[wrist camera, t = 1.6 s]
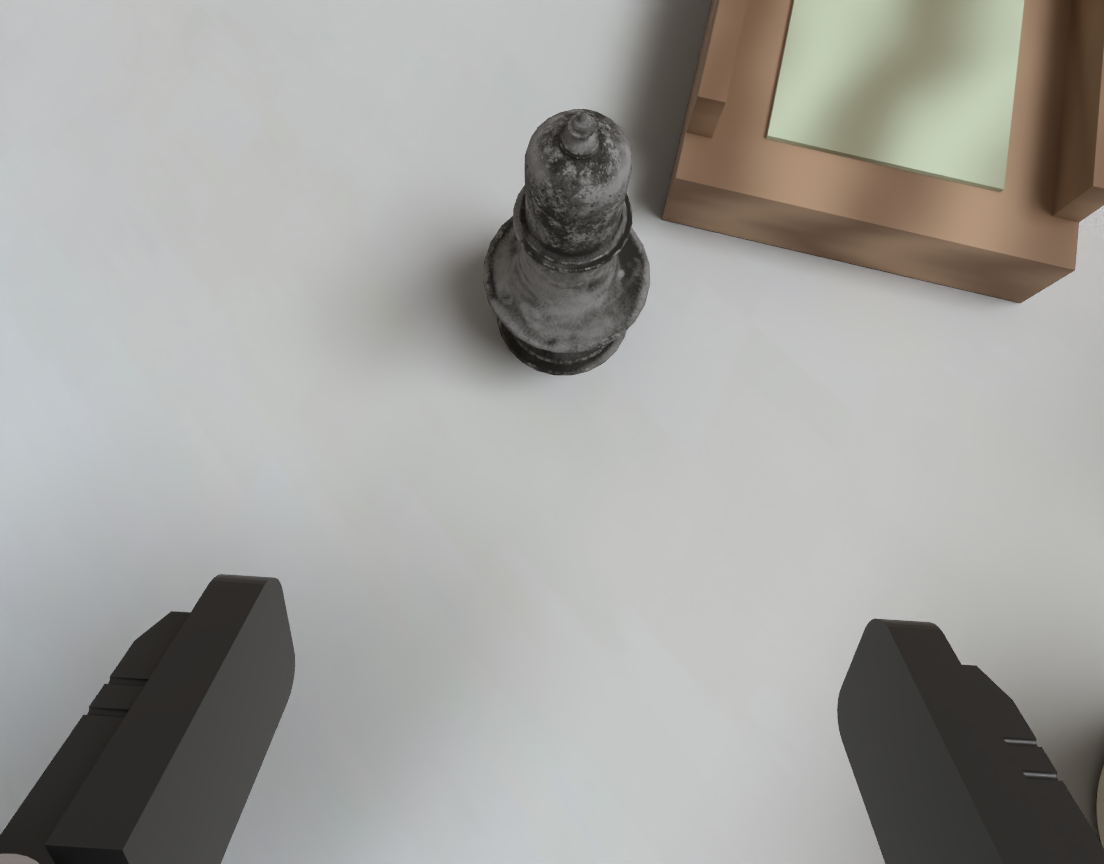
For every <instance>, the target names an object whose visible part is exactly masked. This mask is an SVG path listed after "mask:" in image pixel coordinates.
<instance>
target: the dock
mask: <svg viewBox="0 0 1104 864" xmlns="http://www.w3.org/2000/svg"><path fill="white" fill-rule="evenodd" d="M1103 205H1104V0H712V3H711V8H710V12H709V16H708V21H707V25H706V29H705V34H704V38H703V42H702V47H701V51H700V55H699V60H698V64H697V68H696V73H695V77H694V81H693V86H692V90H691V94H690V99H689V103H688V107H687V112H686V116H685V120H684V125H683V129H682V133H681V138H680V142H679V146H678V151H677V155H676V159H675V164H674V168H673V172H672V177H671V181H670V185H669V190H668V194H667V198H666V203H665V207H664V211H663V216H662V220H666V221H671V222H675V223H679V224H684V225H688V226H692V227H696V228H701V229H705V230H709V231H714V232H718V233H722V234H727V235H731V236H735V237H739V238H744V239H748V240H752V241H757V242H761V243H765V244H769V245H774V246H778V247H782V248H787V249H791V250H795V251H800V252H804V253H808V254H812V255H817V256H821V257H825V258H830V259H834V260H838V261H842V262H847V263H851V264H855V265H860V266H864V267H868V268H873V269H877V270H881V271H885V272H890V273H894V274H898V275H903V276H907V277H911V278H915V279H920V280H924V281H928V282H933V283H937V284H941V285H946V286H950V287H954V288H958V289H963V290H967V291H971V292H976V293H980V294H984V295H988V296H993V297H997V298H1001V299H1006V300H1010V301H1014V302H1019V303H1022V302H1023V301H1025V300H1026V299H1028V298H1030V297H1031V296H1033V295H1035V294H1036V293H1038V292H1040V291H1041V290H1043V289H1045V288H1046V287H1048V286H1050V285H1051V284H1053V283H1055V282H1056V281H1058V280H1059V279H1061V278H1063V277H1064V276H1066V275H1068V274H1069V273H1071V272H1073V271H1074V270H1075V264H1076V252H1077V239H1078V227H1079V222H1080V221H1081V220H1083V219H1084V218H1086V217H1087V216H1089V215H1090V214H1091V213H1093V212H1094V211H1096V210H1097V209H1099V208H1100V207H1102V206H1103Z"/></svg>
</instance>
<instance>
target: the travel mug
mask: <svg viewBox="0 0 1104 864" xmlns="http://www.w3.org/2000/svg"><path fill="white" fill-rule="evenodd" d="M1097 822H1098V830H1099V835H1100V840H1101V844H1102V846H1103V848H1104V766H1103V768H1102V772H1101V776H1100V779H1099V785H1098V791H1097Z"/></svg>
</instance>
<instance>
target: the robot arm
mask: <svg viewBox="0 0 1104 864" xmlns="http://www.w3.org/2000/svg"><path fill="white" fill-rule="evenodd" d="M294 671H295V654H294V648H293V643H292V637H291V632H290V627H289V622H288V617H287V611H286V606H285V601H284V596H283V590H282V586H281V584H280V582H279V580H278V579H277V578H270V577H255V576H239V575H224V574H220V575H217V576H216V577H214V579H213V580H212V581H211V582H210V583H209V585H208V586H207V588H206V589H205V591H204V592H203V594H202V596H201V597H200V599H199V600H198V602H197V604H196V605H195V607H194V608H193V610H192V612H191V613H188V612H172V611H171V612H170V613H169V614H168V615H166V616H165V617H164V618H163V619H161V620H160V621H159V622H158V623H156V624H155V625H154V626H153V627H151V628H150V629H149V630H148V631H146V632H145V633H144V634H143V635H141V636H140V637H139V638H138V639H136V640H135V641H134V642H133V644H132V645H131V647H130V648H129V650H128V651H127V653H126V654H125V656H124V657H123V658H122V660H121V661H120V663H119V664H118V666H117V667H116V669H115V670H114V671H113V673H112V674H111V676H110V681H109V683H108V684H104V686H103V687H102V689H101V690H100V692H99V693H98V695H97V696H96V698H95V699H94V700H93V702H92V703H91V705H90V706H89V712H88V714H87V715H83V716H82V718H81V719H80V721H79V722H78V724H77V725H76V726H75V728H74V729H73V731H72V732H71V734H70V735H69V737H68V738H67V740H66V741H65V742H64V744H63V745H62V747H61V748H60V750H59V751H58V753H57V754H56V755H55V757H54V758H53V760H52V761H51V763H50V764H49V766H48V767H47V768H46V770H45V771H44V773H43V774H42V776H41V777H40V779H39V780H38V782H37V783H36V784H35V786H34V787H33V789H32V790H31V792H30V793H29V795H28V796H27V797H26V799H25V800H24V802H23V803H22V805H21V806H20V808H19V809H18V810H17V812H16V813H15V815H14V816H13V818H12V819H11V821H10V822H9V824H8V825H7V826H6V828H5V829H4V831H3V832H2V834H1V835H0V864H221V861H222V859H223V856H224V854H225V851H226V849H227V847H228V844H229V842H230V839H231V837H232V835H233V832H234V830H235V827H236V825H237V822H238V820H239V818H240V815H241V813H242V810H243V808H244V806H245V803H246V801H247V798H248V796H249V794H250V791H251V789H252V786H253V784H254V781H255V779H256V777H257V774H258V772H259V769H260V767H261V765H262V762H263V760H264V757H265V755H266V752H267V750H268V748H269V745H270V743H271V740H272V738H273V736H274V733H275V731H276V728H277V726H278V723H279V721H280V719H281V716H282V714H283V711H284V709H285V707H286V704H287V702H288V699H289V696H290V693H291V689H292V684H293V679H294ZM837 712H838V725H839V731H840V735H841V738H842V742H843V745H844V747H845V750H846V753H847V756H848V759H849V762H850V764H851V767H852V770H853V773H854V776H855V779H856V781H857V784H858V787H859V790H860V793H861V796H862V798H863V801H864V804H865V807H866V810H867V812H868V815H869V818H870V821H871V824H872V827H873V829H874V832H875V835H876V838H877V841H878V844H879V846H880V849H881V852H882V855H883V858H884V861H885V863H886V864H1104V848H1103V846H1102V845H1101V843H1100V841H1099V840H1098V838H1097V836H1096V835H1095V833H1094V832H1093V830H1092V828H1091V827H1090V825H1089V823H1088V822H1087V820H1086V819H1085V817H1084V815H1083V814H1082V812H1081V810H1080V809H1079V807H1078V806H1077V804H1076V802H1075V801H1074V799H1073V797H1072V796H1071V794H1070V793H1069V791H1068V789H1067V788H1066V786H1065V784H1064V783H1063V781H1059V780H1058V779H1057V776H1056V774H1057V771H1056V770H1055V768H1054V767H1053V765H1052V763H1051V762H1050V760H1049V758H1048V757H1047V755H1046V754H1045V752H1044V750H1043V749H1042V747H1038V746H1037V744H1036V740H1037V739H1036V737H1035V736H1034V734H1033V732H1032V731H1031V729H1030V728H1029V726H1028V724H1027V723H1026V721H1025V719H1024V718H1023V716H1022V715H1021V713H1020V711H1019V710H1018V708H1017V706H1016V705H1015V703H1014V702H1013V700H1012V699H1011V698H1010V697H1009V696H1008V695H1007V694H1006V693H1005V692H1003V691H1002V690H1001V689H1000V688H999V687H998V686H997V685H996V684H995V683H994V682H993V681H992V680H991V679H990V678H989V677H988V676H987V675H986V674H984V673H983V672H982V671H981V670H980V669H979V668H978V667H977V666H972V665H961V663H960V662H959V660H958V658H957V656H956V655H955V653H954V651H953V649H952V648H951V646H950V644H949V642H948V641H947V639H946V637H945V635H944V634H943V632H942V631H941V630H940V628H939V627H938V626H936V625H935V624H933V623H931V622H917V621H902V620H886V619H873V620H871V621H870V622H869V623H868V624H867V626H866V628H865V630H864V633H863V635H862V638H861V640H860V643H859V645H858V648H857V650H856V652H855V655H854V657H853V660H852V662H851V665H850V667H849V670H848V672H847V675H846V677H845V680H844V682H843V685H842V687H841V690H840V693H839V698H838V709H837Z"/></svg>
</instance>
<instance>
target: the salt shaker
mask: <svg viewBox="0 0 1104 864" xmlns="http://www.w3.org/2000/svg"><path fill="white" fill-rule="evenodd" d="M631 169H632V163H631V149H630V146H629V143H628V140H627V137H626V136H625V134H624V133H623V131H622V130H621V128H620V127H619V126H618V125H617V124H616V123H615V122H613V121H612V120H611V119H610V118H608V117H606V116H604V115H602V114H600V113H598V112H595V111H591V110H587V109H573V110H569V111H564V112H561V113H558V114H556V115H554V116H552V117H550V118H548V119H547V120H546V121H545V122H543V123H542V124H541V125H540V126H539V127H538V128H537V130H536V131H535V132H534V134H533V135H532V137H531V139H530V142H529V145H528V148H527V151H526V154H525V185H524V187H523V188H522V190H521V191H520V193H519V194H518V197H517V200H516V203H515V206H514V210H513V216H512V217H511V218H510V219H509V220H508V221H507V222H506V223H504V224H503V225H502V226H501V228H500V229H499V231H498V232H497V234H496V235H495V237H494V238H493V240H492V241H491V243H490V246H489V249H488V252H487V255H486V258H485V261H484V286H485V290H486V293H487V297H488V301H489V304H490V306H491V307H492V309H493V311H494V312H495V314H496V316H497V321H498V324H499V328H500V332H501V336H502V337H503V339H504V341H505V343H506V344H507V346H508V348H509V349H510V351H511V352H512V353H513V354H515V355H516V356H517V357H518V358H519V359H520V360H521V361H522V362H523V363H525V364H527V365H528V366H530V367H532V368H534V369H536V370H537V371H541V372H545V373H549V374H552V375H575V374H579V373H583V372H587V371H590V370H592V369H593V368H595V367H597V366H599V365H601V364H603V363H604V362H605V361H606V360H607V359H608V358H609V357H610V356H612V355H613V354H614V353H615V352H616V350H617V349H618V347H619V345H620V344H621V342H622V340H623V339H624V337H625V333H626V330H627V329H628V328H629V327H630V326H631V325H632V324H633V323H634V322H635V320H636V319H637V317H638V315H639V314H640V312H641V310H642V309H643V307H644V305H645V302H646V298H647V294H648V290H649V286H650V270H649V262H648V259H647V255H646V252H645V249H644V246H643V244H642V242H641V241H640V239H639V238H638V236H637V235H636V233H635V232H634V230H633V229H632V227H631V226H632V208H631V205H630V202H629V198H628V196H627V194H626V191H627V186H628V182H629V178H630V173H631Z"/></svg>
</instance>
